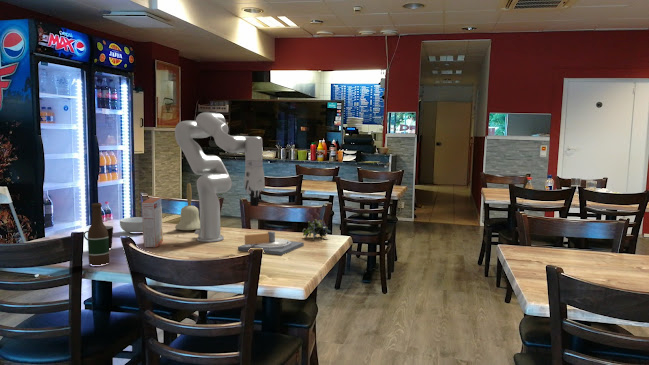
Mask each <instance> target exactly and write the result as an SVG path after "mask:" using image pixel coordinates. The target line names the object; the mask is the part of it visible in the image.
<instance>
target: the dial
mask: <svg viewBox="0 0 649 365" xmlns="http://www.w3.org/2000/svg"><path fill="white" fill-rule="evenodd" d="M286 240H287V239H285V240H283V239H282V238H276V232H275V231H272V230H271V231H267V232H263V233H262V232H261V233H250V234H244V245H245V244H246V245H248V244H256V245H258V246H267V247H271V246H283V245H285V244H287V241H286Z"/></svg>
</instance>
